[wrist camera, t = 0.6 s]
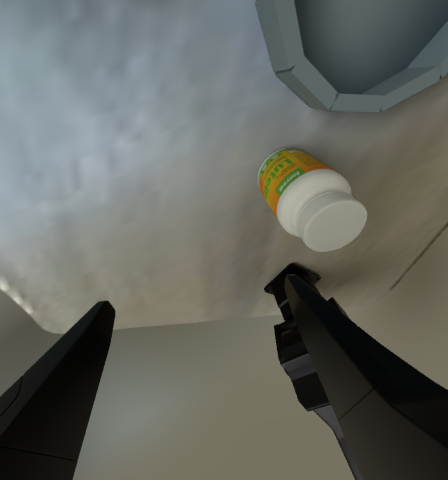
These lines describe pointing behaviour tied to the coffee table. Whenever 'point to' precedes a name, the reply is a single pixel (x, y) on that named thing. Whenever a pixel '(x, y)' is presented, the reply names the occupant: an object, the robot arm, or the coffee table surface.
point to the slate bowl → (356, 49)
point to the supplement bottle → (311, 200)
